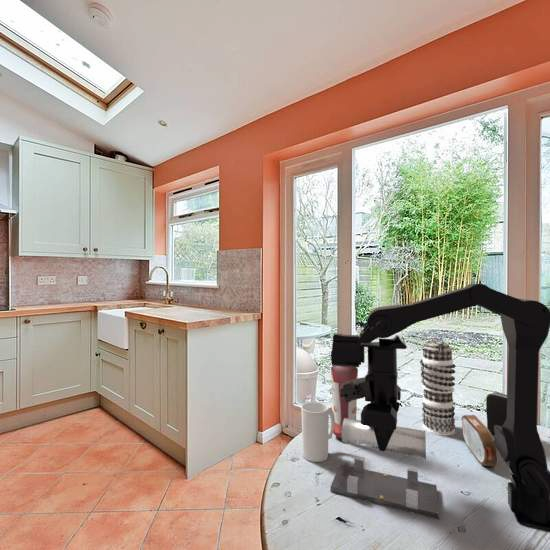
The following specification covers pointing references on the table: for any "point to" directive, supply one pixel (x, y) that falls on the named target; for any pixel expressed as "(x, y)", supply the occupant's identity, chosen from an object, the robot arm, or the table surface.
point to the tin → (479, 440)
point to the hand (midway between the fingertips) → (383, 444)
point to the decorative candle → (438, 388)
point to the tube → (400, 441)
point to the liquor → (339, 404)
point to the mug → (316, 430)
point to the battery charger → (496, 410)
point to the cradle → (387, 488)
